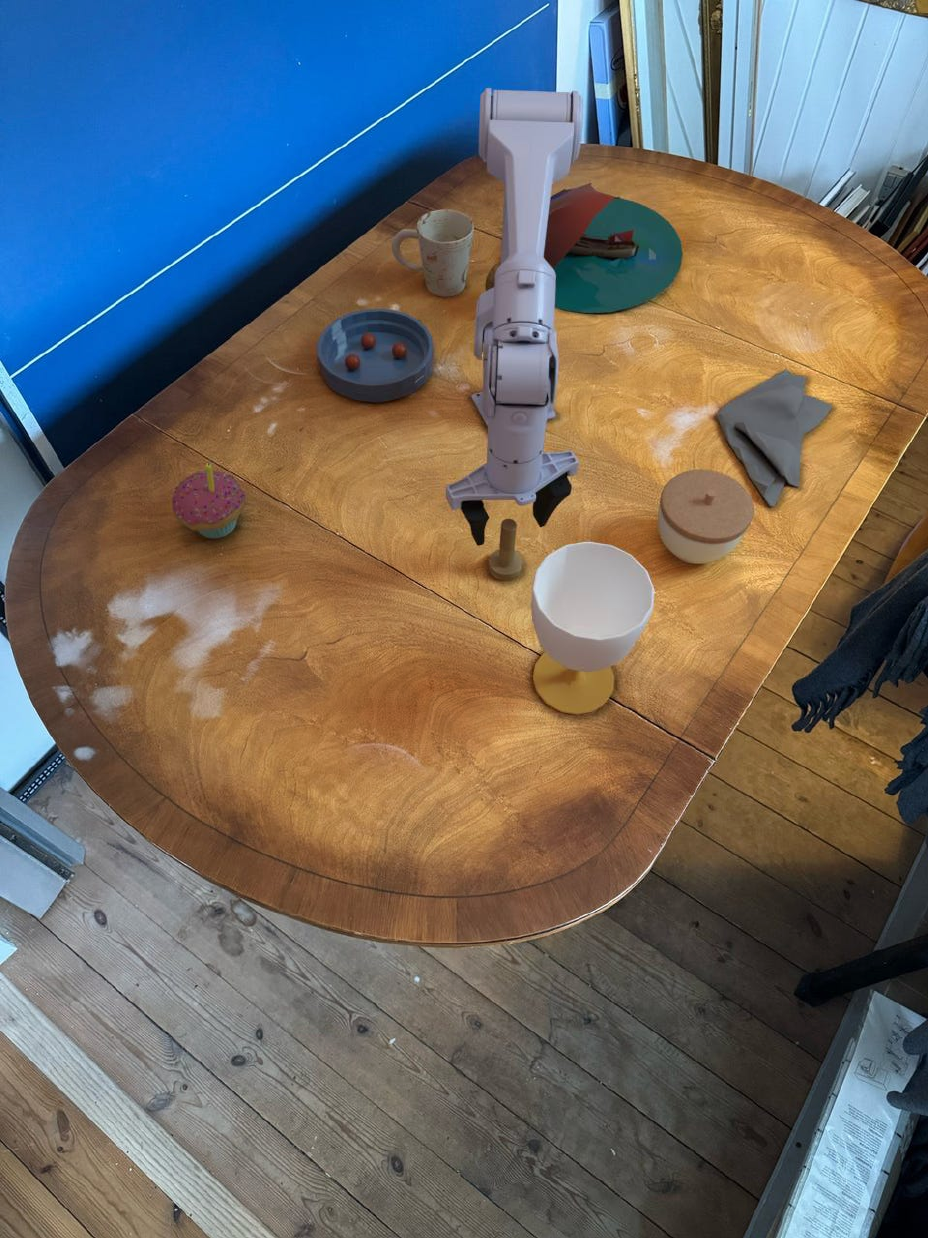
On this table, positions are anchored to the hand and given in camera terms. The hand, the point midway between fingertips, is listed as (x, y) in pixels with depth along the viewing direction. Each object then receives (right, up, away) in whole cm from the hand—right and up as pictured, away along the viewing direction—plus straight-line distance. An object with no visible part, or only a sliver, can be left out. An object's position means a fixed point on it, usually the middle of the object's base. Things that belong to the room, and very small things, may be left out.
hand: (508, 529), depth 101 cm
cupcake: (-36, +1, +9) cm, 37 cm away
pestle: (0, -4, +6) cm, 7 cm away
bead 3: (-14, +28, +25) cm, 40 cm away
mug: (-10, +42, +37) cm, 57 cm away
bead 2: (-19, +30, +26) cm, 44 cm away
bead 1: (-21, +26, +24) cm, 41 cm away
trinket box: (+23, -1, +8) cm, 25 cm away
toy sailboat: (+15, +47, +41) cm, 64 cm away
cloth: (+36, +15, +20) cm, 44 cm away
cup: (+7, -17, -2) cm, 18 cm away
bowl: (-17, +26, +26) cm, 41 cm away
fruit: (+1, +36, +33) cm, 49 cm away
